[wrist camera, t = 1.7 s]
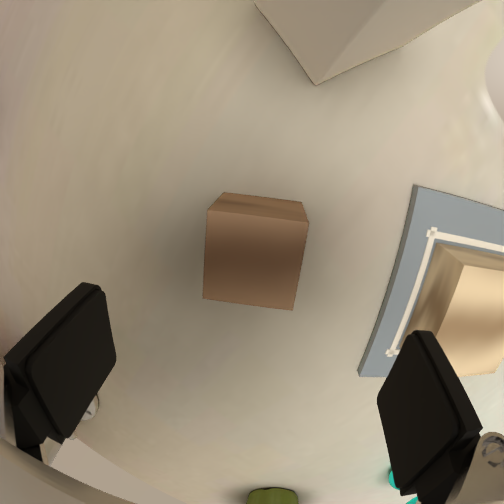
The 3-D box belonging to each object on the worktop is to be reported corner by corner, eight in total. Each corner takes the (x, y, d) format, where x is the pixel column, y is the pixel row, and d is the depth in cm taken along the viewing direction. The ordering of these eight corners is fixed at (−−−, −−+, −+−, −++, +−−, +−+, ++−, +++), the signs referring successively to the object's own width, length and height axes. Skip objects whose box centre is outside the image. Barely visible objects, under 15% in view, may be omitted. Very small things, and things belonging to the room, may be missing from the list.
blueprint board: (473, 368, 24) (477, 373, 23) (357, 370, 24) (359, 377, 23) (533, 221, 18) (539, 224, 17) (413, 184, 18) (419, 187, 17)
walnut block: (289, 272, 21) (292, 310, 17) (218, 262, 21) (202, 298, 17) (301, 202, 19) (308, 223, 15) (224, 192, 20) (207, 210, 15)
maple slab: (475, 346, 22) (494, 373, 18) (399, 346, 22) (414, 379, 18) (512, 257, 18) (540, 277, 15) (436, 242, 19) (464, 264, 15)
